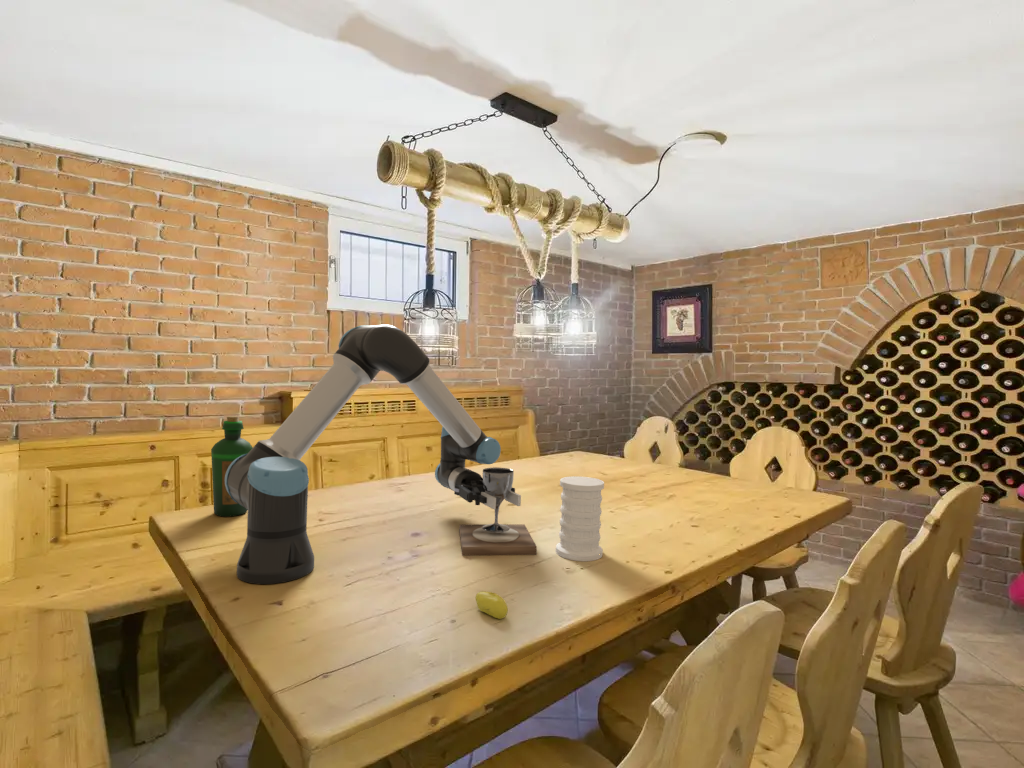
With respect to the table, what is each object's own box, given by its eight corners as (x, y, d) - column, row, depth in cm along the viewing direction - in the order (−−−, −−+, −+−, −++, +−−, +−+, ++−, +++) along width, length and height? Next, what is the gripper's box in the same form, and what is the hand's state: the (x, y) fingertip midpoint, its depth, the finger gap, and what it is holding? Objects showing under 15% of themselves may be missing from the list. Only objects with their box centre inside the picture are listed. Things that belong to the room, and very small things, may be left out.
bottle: (239, 519, 149) (241, 419, 148) (201, 517, 149) (203, 417, 148) (258, 509, 160) (260, 415, 159) (223, 507, 160) (225, 414, 159)
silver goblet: (481, 522, 142) (484, 466, 141) (511, 524, 142) (514, 468, 141) (479, 532, 134) (481, 472, 134) (510, 533, 134) (513, 474, 133)
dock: (536, 554, 130) (536, 544, 130) (462, 555, 128) (462, 545, 128) (524, 531, 148) (524, 522, 148) (459, 531, 146) (459, 523, 146)
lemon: (494, 625, 94) (495, 603, 94) (469, 608, 101) (470, 587, 100) (513, 619, 97) (514, 598, 97) (488, 602, 103) (488, 582, 103)
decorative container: (599, 564, 126) (602, 488, 125) (551, 557, 129) (554, 483, 128) (605, 548, 137) (608, 478, 136) (560, 542, 140) (563, 474, 139)
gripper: (495, 492, 158) (538, 512, 138) (434, 499, 148) (471, 521, 128) (496, 467, 158) (540, 484, 138) (435, 472, 148) (472, 490, 128)
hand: (507, 502), depth 133 cm, fingers closed on silver goblet, 6 cm apart
